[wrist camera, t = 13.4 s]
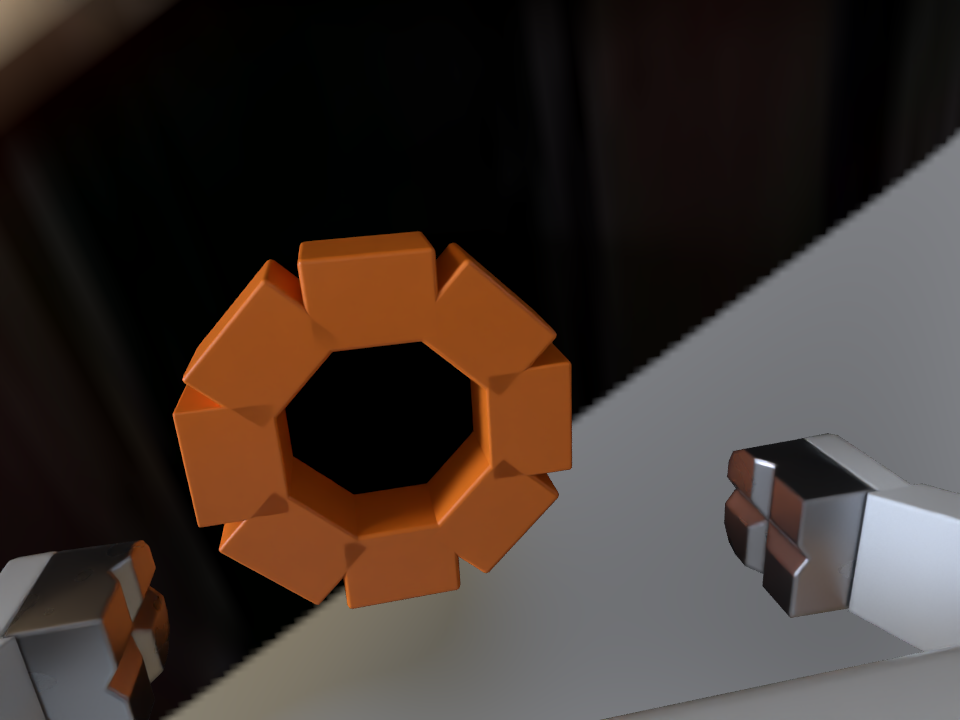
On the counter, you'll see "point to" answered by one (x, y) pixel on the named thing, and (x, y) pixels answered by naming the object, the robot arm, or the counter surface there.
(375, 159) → the counter surface
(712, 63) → the counter surface
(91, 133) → the counter surface
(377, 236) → the orange ring
